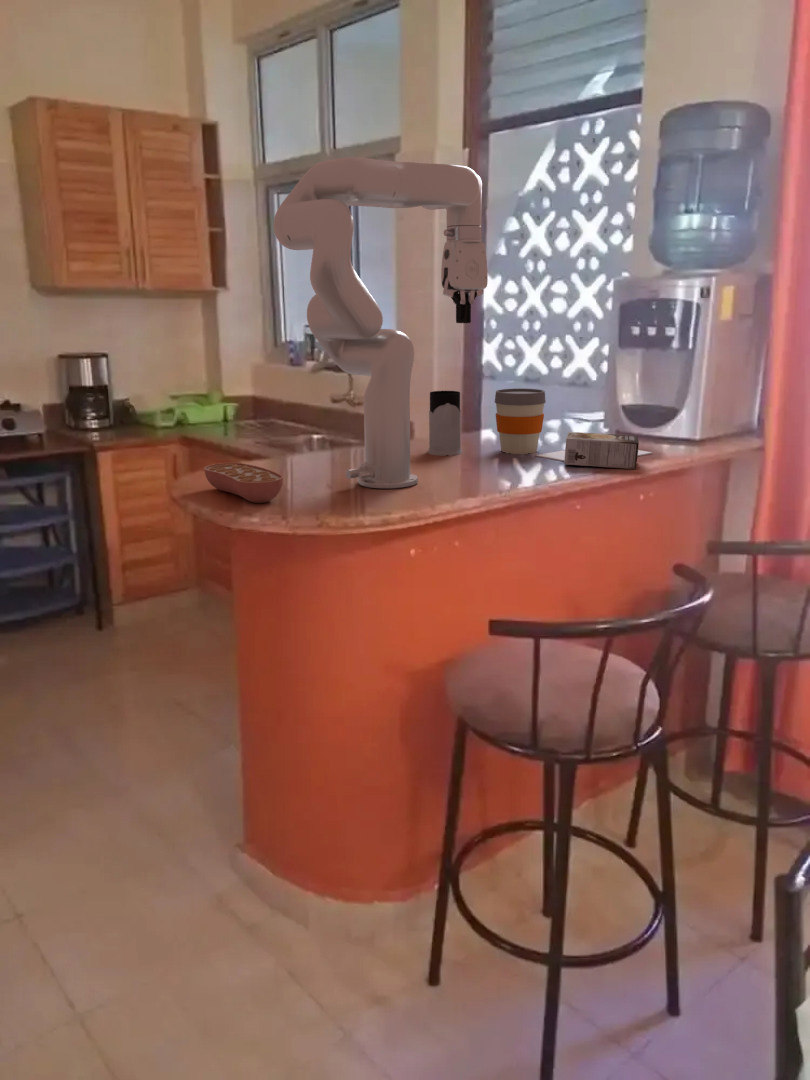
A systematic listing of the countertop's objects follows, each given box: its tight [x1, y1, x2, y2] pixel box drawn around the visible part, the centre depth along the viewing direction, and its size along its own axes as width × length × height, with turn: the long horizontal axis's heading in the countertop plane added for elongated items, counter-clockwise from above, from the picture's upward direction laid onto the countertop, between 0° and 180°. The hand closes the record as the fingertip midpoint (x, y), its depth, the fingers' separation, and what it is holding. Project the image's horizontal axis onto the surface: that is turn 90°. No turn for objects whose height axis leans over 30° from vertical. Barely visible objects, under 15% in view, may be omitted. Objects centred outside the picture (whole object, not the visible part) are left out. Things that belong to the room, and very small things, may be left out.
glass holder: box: [427, 390, 463, 457], centre depth 220 cm, size 9×14×15 cm, turn 7°
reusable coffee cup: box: [494, 388, 546, 455], centre depth 218 cm, size 13×13×15 cm
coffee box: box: [563, 431, 639, 470], centre depth 200 cm, size 9×6×16 cm
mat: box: [535, 449, 653, 462], centre depth 213 cm, size 24×16×1 cm, turn 127°
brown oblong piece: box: [203, 462, 284, 504], centre depth 174 cm, size 23×10×5 cm, turn 37°
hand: (463, 322), depth 194 cm, fingers closed
